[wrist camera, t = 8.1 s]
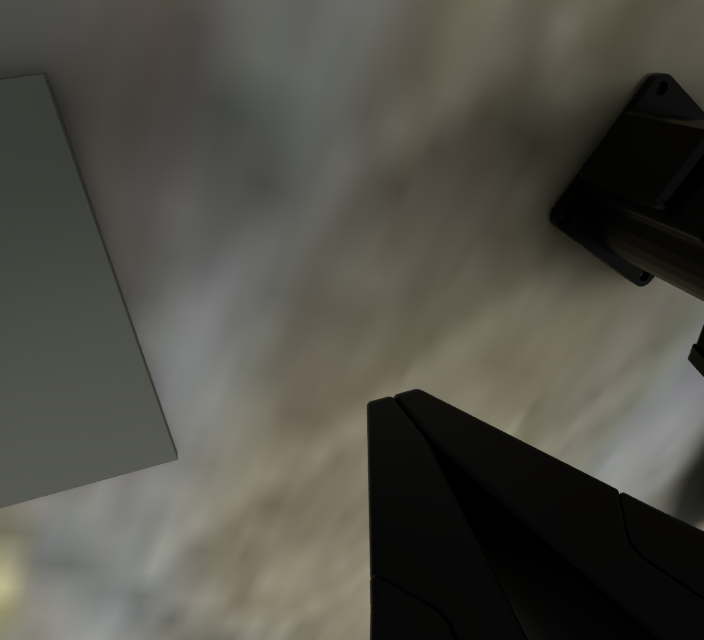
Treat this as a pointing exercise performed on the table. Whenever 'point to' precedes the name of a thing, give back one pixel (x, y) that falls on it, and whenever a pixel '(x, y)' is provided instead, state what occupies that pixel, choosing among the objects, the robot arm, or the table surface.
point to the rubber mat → (62, 320)
